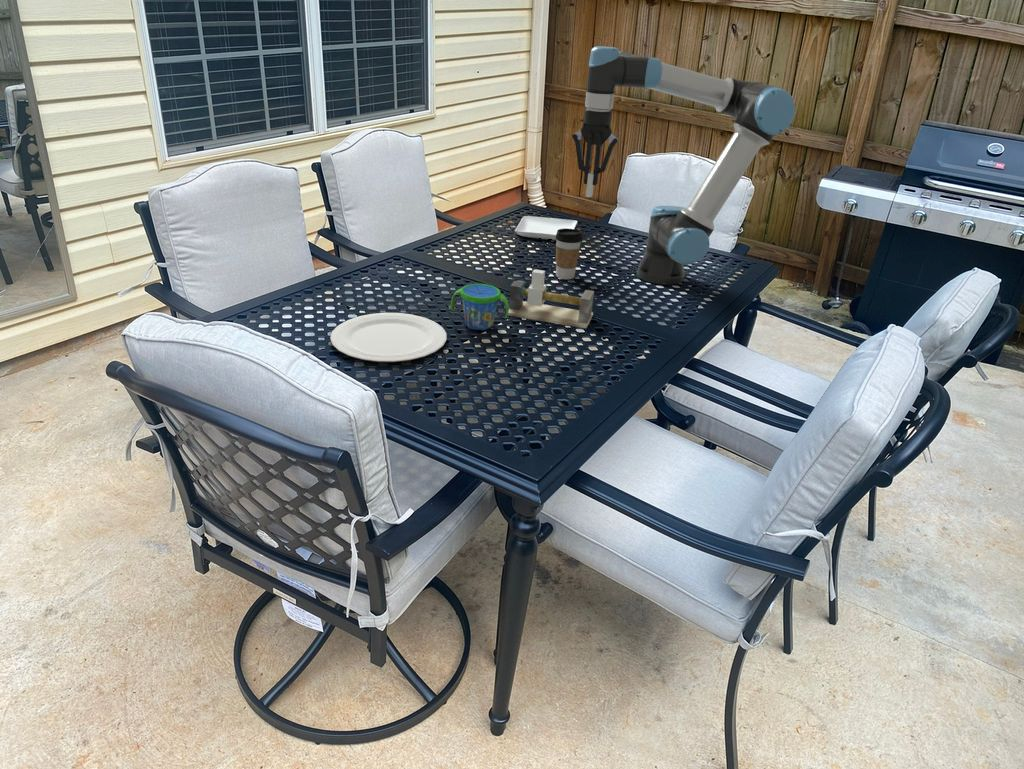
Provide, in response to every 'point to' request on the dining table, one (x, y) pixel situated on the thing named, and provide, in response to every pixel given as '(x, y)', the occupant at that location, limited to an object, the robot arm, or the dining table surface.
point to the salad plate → (543, 227)
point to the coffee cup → (567, 252)
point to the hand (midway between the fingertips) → (589, 196)
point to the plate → (388, 337)
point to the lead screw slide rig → (551, 307)
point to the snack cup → (479, 305)
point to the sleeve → (536, 288)
